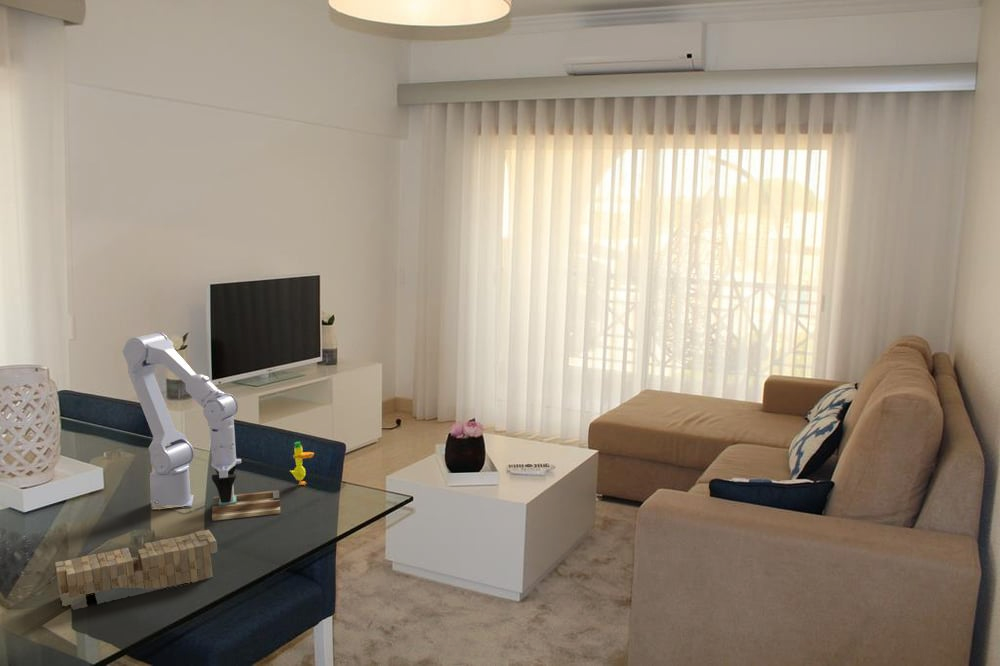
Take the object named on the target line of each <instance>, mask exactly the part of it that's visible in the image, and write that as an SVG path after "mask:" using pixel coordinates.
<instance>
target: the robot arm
mask: <svg viewBox="0 0 1000 666" xmlns="http://www.w3.org/2000/svg"><path fill="white" fill-rule="evenodd" d="M122 353H123V356H124V359H125V361H126V364H127V370H128V375H129V378H130V381H131V383H132V386H133V388H134V391H135V394H136V396H137V399H138V401H139V404H140V406H141V408H142V412H143V414H144V416H145V419H146V422H147V423H148V427H149V429H150V432H151V435H152V441H151V443H150V445H149V446H148V451H149V455H150V464H151V467H152V469H153V470H154V471H153V472H150V473H149V474H150V475H149V490H150V504H151V507H152V506H166V505H182V506H191V507H192V505H193V501H194V494H192V493H191V483H190V482H191V481H190V469H189V468H190V467H191V462H192V461H193V460H194V458H195V449H194V447H193V445H192V443H190V442H189V441H188V439H187V436H186V435H185V434H184V433H183V432H181V431H178V430H177V429H176V428H175V425H174V422H173V420H172V417H171V414H170V412H169V410H168V407H167V405H166V402H165V399H164V397H163V395H162V392H161V389H160V386H159V383H158V380H157V379H156V376H155V374H154V372H155V370H156V368H157V366H158V365H162V366H164V367H165V368H166V369H168V370H169V371H170V372H171V373H172V374H173V375H175V376H176V377H177V378H178V379H180V381H182V382H183V383H184V384H185V392H186V393H188V395H190V396H191V397H192V399H193V400H195V401H196V403H198V404H199V406H201V407H202V408H203V410H202V412H203V415H204V417H205V419H206V421H207V426H208V428H209V434H210V435H209V436H210V449H211V450H210V451H211V463H210V464H211V467H212V468H213V469H214V470H215V471H216V474H211V480H212V481H213V483H214V485H215V487H216V489H217V492H218V496H219V497H220V500H221V502H222V503H225V502H230V501H231V494H232V486H233V487H234V483H235V480H236V478H237V474H236V473H235V472H236V471H235V470H236V469H237V466H238V465H240V464H241V463H242V458H237V452H236V435H235V434H236V433H235V432H236V431H235V420H234V418H235V415H236V414H237V413H238V409H239V404H238V400H237V399H236V398H235V397H234V395H233V394H231V393H225V392H224V391H222V390H220V389H219V388H218V387H217V386H216V385H215V384H214V383H213V382H212V381H211V380H210V377H209V376H207V375H205V374H201V373H200V374H198V373H196V372H195V371H194V370H193V369H192V368H191V366H190V365H189V364H188V363H187V362H186V360H184V358H183V357H182V356H181V355H180V354H179V353H178V352H177V350H176V349H175V348H174V341H172V340H171V339H170V338H169V337H168V336H167V335H166V334H165V333H163V332H161V331H160V332H159V331H156V332H153V333H151V334H145V335H142V336H141V335H140V336H136V337H135V336H134V337H130V338H128V339H127V341H126V343H125V345H124V347H123V350H122ZM155 501H158V503H156V502H155Z"/></svg>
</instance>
